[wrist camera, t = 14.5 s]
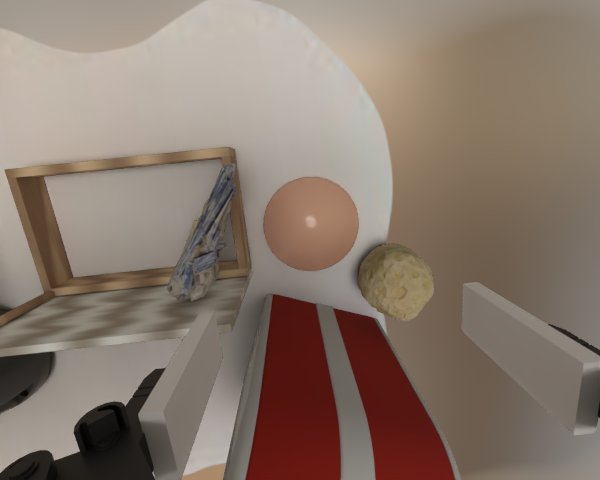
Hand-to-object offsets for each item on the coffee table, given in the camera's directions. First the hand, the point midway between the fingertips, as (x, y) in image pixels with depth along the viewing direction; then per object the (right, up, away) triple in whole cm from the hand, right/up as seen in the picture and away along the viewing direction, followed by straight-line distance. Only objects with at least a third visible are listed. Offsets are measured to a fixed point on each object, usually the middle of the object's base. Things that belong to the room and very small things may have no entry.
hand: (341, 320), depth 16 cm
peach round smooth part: (-1, +6, +26) cm, 27 cm away
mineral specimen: (-11, +12, +14) cm, 22 cm away
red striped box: (-1, -13, +31) cm, 33 cm away
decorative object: (+13, 0, +29) cm, 32 cm away
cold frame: (-23, +7, +25) cm, 34 cm away
